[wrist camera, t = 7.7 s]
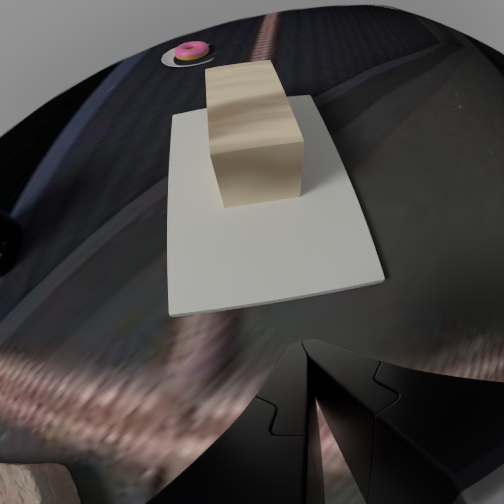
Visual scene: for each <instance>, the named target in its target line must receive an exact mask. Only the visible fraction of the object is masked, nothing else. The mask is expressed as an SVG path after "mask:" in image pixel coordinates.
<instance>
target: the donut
mask: <svg viewBox="0 0 504 504" xmlns="http://www.w3.org/2000/svg"><path fill="white" fill-rule="evenodd" d="M208 45H209V44H206V43H204V42H200V41H194V42H187V43H184V44H181V45H180V46H178V47H177V48H174V49H172V50H170V51H168V52H167V53H165V54H164V55H163V57H162V62H163V63H164V64H165V65H168V66H173V67H189V66H195V65H199V64H203V63H206V62H208V61H210V60H208V61H206V62H203V63H199V64H195V65H188V66H179V65H176V64H175V63H174V62H173V58H174V56H176V57H177V58H178V59H180V60H183V61H190V60H195V59H199V58H201V57H203V56H205V55H206V54H208V52H209V47H208ZM211 60H212V59H211Z"/></svg>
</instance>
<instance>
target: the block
mask: <svg viewBox="0 0 504 504" xmlns="http://www.w3.org/2000/svg"><path fill="white" fill-rule="evenodd" d="M205 74H206V96H207V115H208V133H209V148H210V157H211V161H212V165H213V168H214V172H215V176H216V179H217V183H218V187H219V191H220V194H221V198H222V202H223V205H224V208H230V207H236V206H242V205H249V204H255V203H261V202H268V201H275V200H282V199H288V198H296V197H300V190H301V178H302V166H303V152H304V139H303V137H302V134H301V132H300V129H299V127H298V124H297V121H296V119H295V116H294V114H293V112H292V109H291V107H290V104H289V102H288V99H287V97H286V95H285V92H284V90H283V88H282V85H281V83H280V81H279V78H278V76H277V74H276V72H275V69H274V67H273V65H272V63H271V61H270V60H266V61H257V62H248V63H241V64H233V65H227V66H221V67H215V68H209V69H205Z"/></svg>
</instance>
